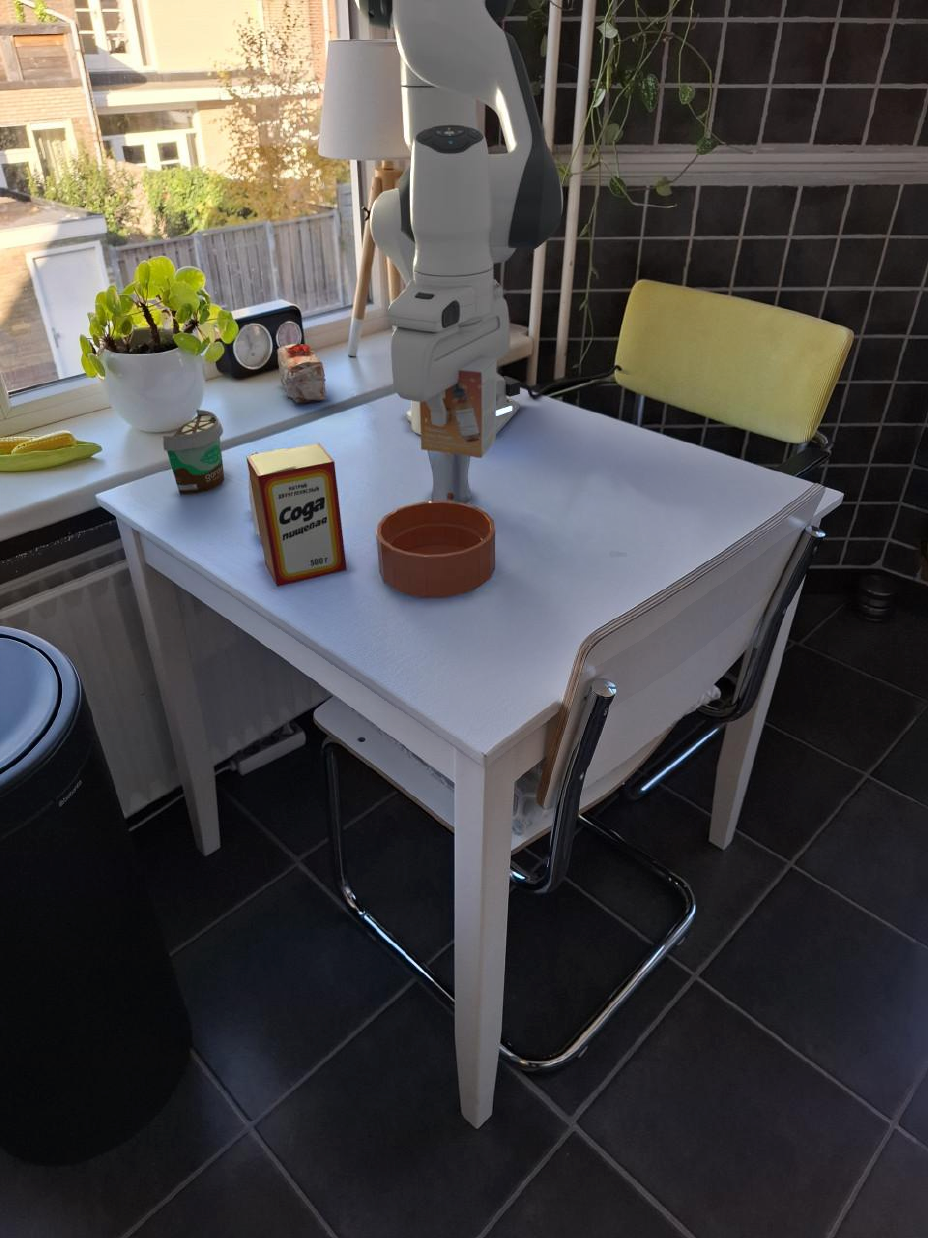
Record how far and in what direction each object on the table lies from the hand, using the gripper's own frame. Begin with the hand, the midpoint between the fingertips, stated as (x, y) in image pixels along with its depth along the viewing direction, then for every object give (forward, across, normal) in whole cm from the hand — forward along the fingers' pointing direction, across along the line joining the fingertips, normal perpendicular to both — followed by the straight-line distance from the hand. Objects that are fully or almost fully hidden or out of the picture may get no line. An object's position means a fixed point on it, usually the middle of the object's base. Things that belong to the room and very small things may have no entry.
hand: (457, 414), depth 104 cm
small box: (+4, 0, 0) cm, 4 cm away
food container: (+21, -2, -49) cm, 54 cm away
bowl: (+21, +3, -2) cm, 21 cm away
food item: (+21, -41, -63) cm, 78 cm away
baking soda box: (+21, +11, -18) cm, 30 cm away
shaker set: (+21, +5, -30) cm, 37 cm away
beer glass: (+21, -16, -12) cm, 29 cm away
